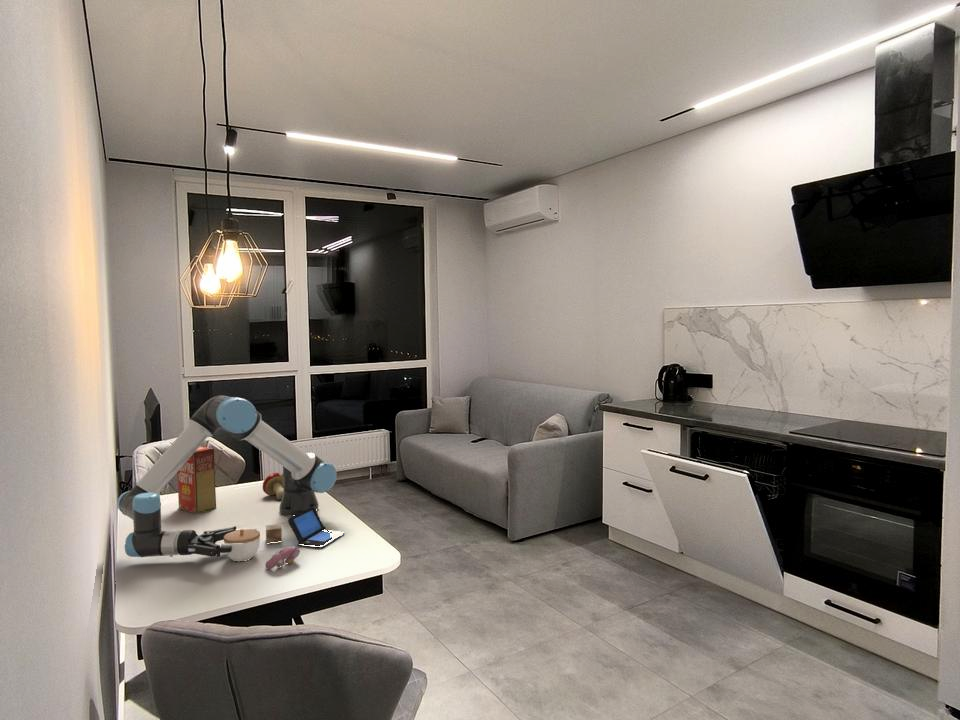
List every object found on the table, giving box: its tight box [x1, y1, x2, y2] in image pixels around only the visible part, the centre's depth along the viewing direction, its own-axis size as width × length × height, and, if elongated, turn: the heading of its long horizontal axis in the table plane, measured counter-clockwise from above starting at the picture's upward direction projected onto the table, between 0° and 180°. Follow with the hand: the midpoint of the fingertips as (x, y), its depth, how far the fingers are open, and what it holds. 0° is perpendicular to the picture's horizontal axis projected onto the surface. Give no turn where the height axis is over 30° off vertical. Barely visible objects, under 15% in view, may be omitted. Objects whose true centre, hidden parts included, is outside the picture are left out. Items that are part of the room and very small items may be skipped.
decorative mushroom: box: [262, 472, 284, 500], centre depth 257 cm, size 11×11×15 cm
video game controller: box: [264, 545, 301, 570], centre depth 180 cm, size 10×5×7 cm, turn 149°
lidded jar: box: [223, 528, 261, 563], centre depth 186 cm, size 11×11×9 cm
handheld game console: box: [287, 507, 332, 546], centre depth 203 cm, size 16×13×9 cm
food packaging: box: [176, 445, 217, 514], centre depth 240 cm, size 13×9×25 cm
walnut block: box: [265, 523, 283, 543], centre depth 202 cm, size 5×5×5 cm
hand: (250, 539), depth 186 cm, fingers open, 13 cm apart
